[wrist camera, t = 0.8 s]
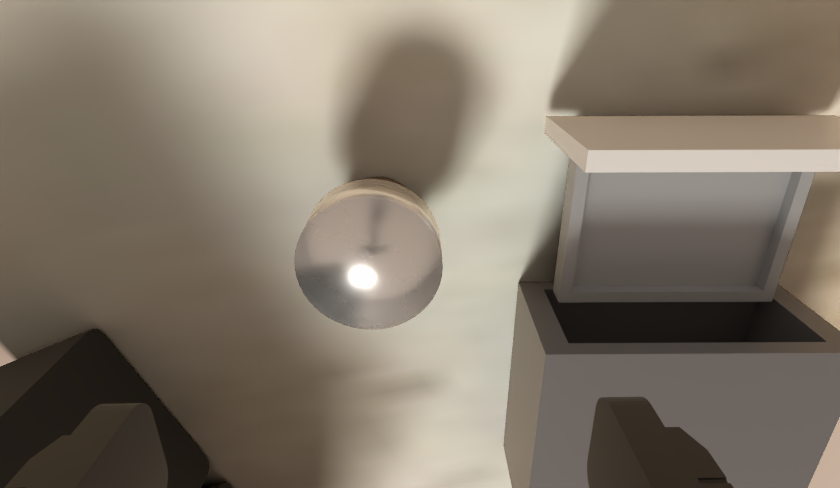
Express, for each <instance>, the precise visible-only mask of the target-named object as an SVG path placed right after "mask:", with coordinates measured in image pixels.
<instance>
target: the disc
mask: <svg viewBox="0 0 840 488" xmlns="http://www.w3.org/2000/svg"><path fill="white" fill-rule="evenodd" d="M442 268H443V266H442V253H441V243H440V234H439V229H438V225H437V223H436V220H435V218H434V216H433V214H432V212H431V210H430V209H429V208H428V206H427V205H426V204H425V203H424V201H423V200H422V199H421V198H420V197H418V196H417V195H416V194H415V193H414V192H412V191H410V190H409V189H407V188H405V187H403V186H401V185H399V184H396V183H393V182H390V181H386V180H380V179H361V180H356V181H351V182H348V183H345V184H343V185H341V186H339V187H337V188H335V189H334V190H332V191H331V192H329V193H328V194H327V195H326V196H325V197H323V198H322V199H321V201H320V202H319V203H318V204H317V206H316V207H315V209H314V210H313V212H312V214H311V216H310V218H309V220H308V222H307V224H306V226H305V228H304V230H303V232H302V233H301V236H300V238H299V240H298V243H297V247H296V251H295V271H296V276H297V279H298V282H299V285H300V287H301V289H302V291H303V293H304V294H305V296H306V297H307V299H308V300H309V301H310V302H311V303H312V304H313V306H314V307H315V308H317V309H318V310H319V311H320V312H321V313H323V314H324V315H326V316H327V317H328V318H330V319H332V320H334V321H336V322H338V323H341V324H343V325H346V326H350V327H354V328H360V329H383V328H389V327H393V326H396V325H399V324H401V323H404V322H406V321H408V320H410V319H411V318H413V317H415V316H416V315H417V314H419V313H420V312H421V311H422V310H423V309H424V308H425V307H426V306H427V305H428V304H429V303H430V302H431V300H432V299H433V297H434V295H435V294H436V292H437V290H438V287H439V285H440V281H441V277H442Z"/></svg>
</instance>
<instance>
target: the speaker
mask: <svg viewBox="0 0 840 488" xmlns="http://www.w3.org/2000/svg"><path fill="white" fill-rule="evenodd" d="M126 403H145V404H147V405H148V406H149V407H150V408H151V410H152V413H153V416H154V420H155V423H156V427H157V431H158V434H159V438H160V441H161V445H162V449H163V452H164V456H165V459H166V463H167V467H168V483H167V488H201V487H202V485H203V483H204V481H205V478H206V476H207V474H208V470H209V463H208V460H207V458H206V456H205V455H204V454H203V452H202V451H201V450H200V449H199V448H198V446H197V445H196V444H195V443H194V442H193V440H192V439H191V438H190V437H189V436H188V434H187V433H186V432H185V431H184V430H183V428H182V427H181V426H180V425H179V424H178V422H177V421H176V420H175V419H174V418H173V416H172V415H171V414H170V413H169V412H168V410H167V409H166V408H165V407H164V405H163V404H162V403H161V402H160V401H159V399H158V398H157V397H156V396H155V395H154V393H153V392H152V391H151V390H150V389H149V387H148V386H147V385H146V384H145V383H144V381H143V380H142V379H141V378H140V377H139V375H138V374H137V373H136V372H135V371H134V369H133V368H132V367H131V366H130V365H129V363H128V362H127V361H126V360H125V359H124V357H123V356H122V355H121V354H120V353H119V351H118V350H117V349H116V348H115V347H114V345H113V344H112V343H111V342H110V341H109V339H108V338H107V337H106V336H105V335H104V334H103V333H102V332H101V331H100V330H97V329H91V330H89V331H86V332H84V333H82V334H79V335H77V336H74V337H72V338H69V339H67V340H64V341H62V342H60V343H57V344H55V345H52V346H50V347H47V348H45V349H42V350H40V351H38V352H35V353H33V354H30V355H28V356H25V357H23V358H20V359H18V360H16V361H13V362H11V363H8V364H6V365H3V366H1V367H0V488H4V487H5V486H6V485H7V484H8V483H9V482H10V481H11V480H12V478H13V477H14V476H15V475H16V474H17V473H18V472H19V471H20V469H21V468H22V467H23V466H24V465H25V464H26V463H27V462H28V460H29V459H31V458H32V457H33V456H35V455H36V454H38V453H39V452H40V451H42V450H43V449H44V448H46V447H47V446H49V445H50V444H51V443H53V442H54V441H56V440H57V439H58V438H60V437H61V436H63V435H71V434H72V433H73V431H74V430H75V429H76V428H77V427H78V425H79V424H80V423H81V422H82V421H83V419H84V418H85V417H86V416H87V415H88V414H89V412H90V411H91V410H92V409H93V408H94V407H96V406H97V405H100V404H126ZM210 488H232V487H231V486H230V485H229V484H227V483H222V484H219V485H216V486H213V487H210Z"/></svg>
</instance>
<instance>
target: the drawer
mask: <svg viewBox="0 0 840 488" xmlns="http://www.w3.org/2000/svg"><path fill="white" fill-rule="evenodd" d="M545 134H546V135H547V136H548V137H549V138H550V139H551V140H552V141H553V142H554V143H555V144H556V145H557V146H558V147H559V148H560V149H561V150H562V151H563V152H564V153H565V154H566V155H567V156H568V157H569V166H568V174H567V182H566V190H565V198H564V206H563V214H562V222H561V230H560V238H559V246H558V254H557V262H556V270H555V278H554V286H553V292H554V294H555V296H556V298H557V300H558V302H559V303H581V302H772V300H773V297H774V294H775V291H776V288H777V285H778V282H779V279H780V276H781V273H782V270H783V267H784V264H785V261H786V258H787V255H788V252H789V250H790V247H791V244H792V241H793V238H794V235H795V232H796V229H797V226H798V223H799V220H800V217H801V214H802V211H803V208H804V205H805V202H806V199H807V196H808V193H809V190H810V187H811V184H812V181H813V178H814V175H815V172H840V117H838V116H835V115H788V116H546V125H545Z"/></svg>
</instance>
